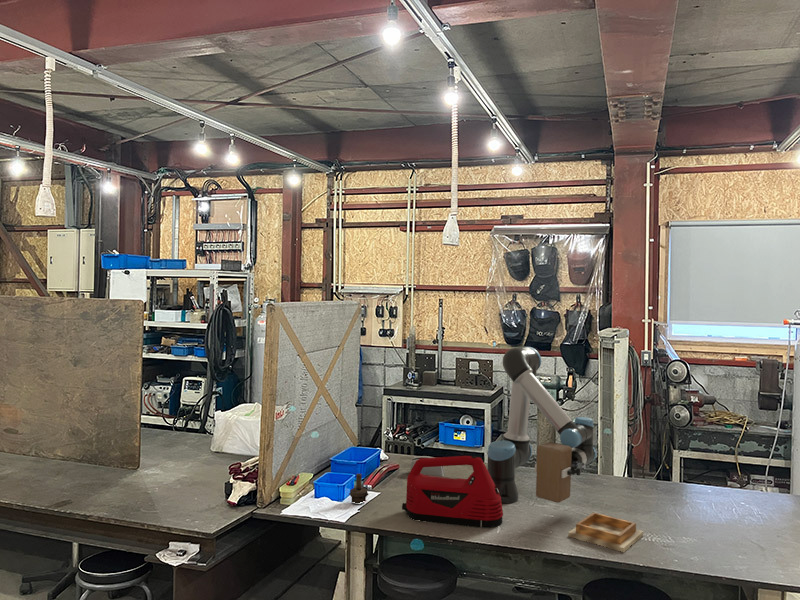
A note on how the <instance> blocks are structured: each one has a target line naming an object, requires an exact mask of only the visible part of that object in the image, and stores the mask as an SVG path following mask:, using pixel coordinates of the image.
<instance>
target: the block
mask: <svg viewBox="0 0 800 600" xmlns="http://www.w3.org/2000/svg"><path fill="white" fill-rule="evenodd" d="M572 450H573V448H571V447H570V446H567V445H563V444H562V443H557V442H552V441H549V442H546V443H543V444H540V445H538V446H537V451H536V453H537V454H536V458H537V459H536V464H537V472H536V477H535V478H536V481H535V484H536V485H535V496H536V497H537V498H540V499H543V500H547V501H550V502H554V503H557V504H559V503H561V502H563V501H565V500H568V499H569V498H571V485H572V481H571V480H572V475H569V476H567V477H565V478H561V477H562V470H564V469H566V468H568V467H571V457H572Z"/></svg>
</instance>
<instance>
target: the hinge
mask: <svg viewBox="0 0 800 600" xmlns="http://www.w3.org/2000/svg"><path fill="white" fill-rule="evenodd" d="M420 458H435V457H434V456H429V455H428V456H427V455H422V456H415V457H412V458H411V461H410V471H411V469H412V468H413V466H414V464H415V462H416V461H417V460H419V459H420ZM410 471H409V472H410ZM420 473H421V474H423V475H428V476H440V477H445V475H444V474H445V469H444V466H438V467H423V469H422V470H421V472H420Z"/></svg>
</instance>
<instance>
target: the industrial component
mask: <svg viewBox="0 0 800 600" xmlns="http://www.w3.org/2000/svg"><path fill="white" fill-rule="evenodd" d="M355 478H356V479H355V480H356V485H355V486H356V487H354V488H351V489H350V491H349V492H348V494H349V497H351V503H352V502H355V503H360V502H363V501H366V502H367V497H368V496H369V493H368V489H367V488H364V487H362V478H363V477H362V473H356V476H355Z"/></svg>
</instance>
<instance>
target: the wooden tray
mask: <svg viewBox="0 0 800 600" xmlns="http://www.w3.org/2000/svg"><path fill="white" fill-rule="evenodd" d="M567 534H568V536H569V538H572V539H575V538H576V539H575V540H579V541H582V542H586V541H587V542H586V543H589V542H590V543H589V544H593V545H596V544H597V546H599V545H601V546H600V547H603V546H604V548H606V547H608V548H607V549H611V550H613V551H617V552H620V551H621V552H620V553H625V552H626V551H627V550H628V549H630V548H631V547H632V546H633V545H634V544H635V543H637V542H638V540H640V539H641V538H642V537H643V536H644V531H643V530H640V529H637V523H636V522H633V521H629V520H624V519H622V518H619V517H618V518H617V517H613V516H609V515H606V514H602V513H598V512H592V513H590V514H589V515H587V516H586V517H585V518H582V520H579V522H577V523H575V527H574V528H573V529H571V530H569V531H568V533H567ZM568 536H567V537H568ZM631 545H632V546H631ZM630 546H631V547H630Z"/></svg>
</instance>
